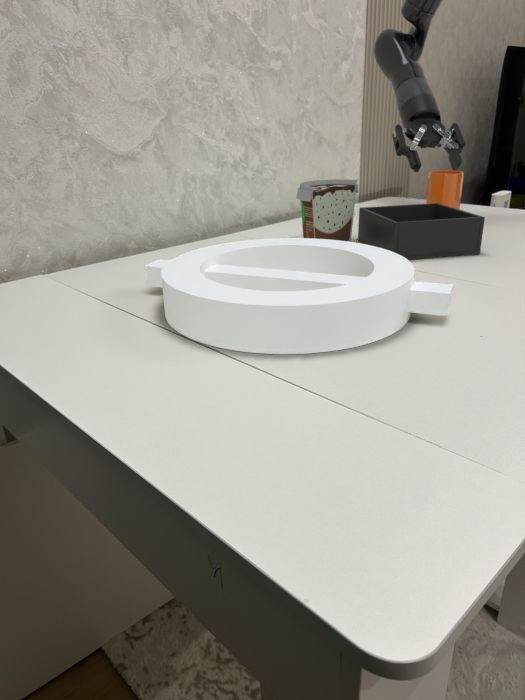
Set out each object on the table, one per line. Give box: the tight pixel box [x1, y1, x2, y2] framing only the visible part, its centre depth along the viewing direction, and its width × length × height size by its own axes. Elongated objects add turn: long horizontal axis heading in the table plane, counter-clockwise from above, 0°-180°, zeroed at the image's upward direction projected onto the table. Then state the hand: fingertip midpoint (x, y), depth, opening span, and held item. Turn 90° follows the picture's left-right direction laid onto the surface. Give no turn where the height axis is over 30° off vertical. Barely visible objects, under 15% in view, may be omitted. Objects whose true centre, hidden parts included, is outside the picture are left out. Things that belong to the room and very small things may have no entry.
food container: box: [295, 178, 359, 242], centre depth 90 cm, size 12×6×10 cm, turn 134°
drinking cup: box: [425, 169, 465, 210], centre depth 108 cm, size 6×6×9 cm
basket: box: [357, 203, 486, 261], centre depth 87 cm, size 14×14×6 cm
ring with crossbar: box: [143, 237, 454, 355], centre depth 63 cm, size 28×28×5 cm
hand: (437, 168), depth 109 cm, fingers open, 8 cm apart
